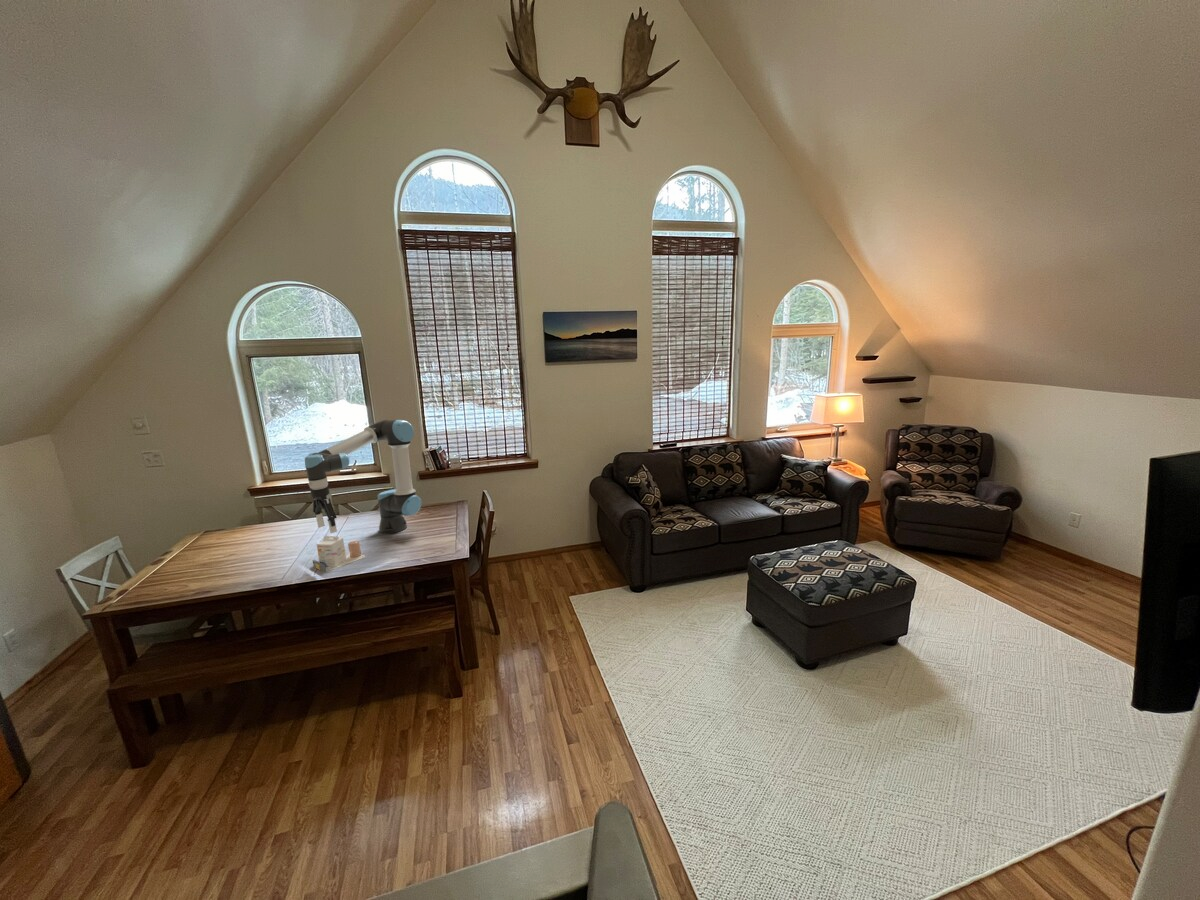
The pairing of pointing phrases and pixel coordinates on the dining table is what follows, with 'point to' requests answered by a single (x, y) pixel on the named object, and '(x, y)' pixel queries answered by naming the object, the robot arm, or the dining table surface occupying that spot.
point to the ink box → (331, 551)
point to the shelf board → (325, 569)
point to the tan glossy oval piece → (354, 549)
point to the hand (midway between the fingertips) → (327, 529)
